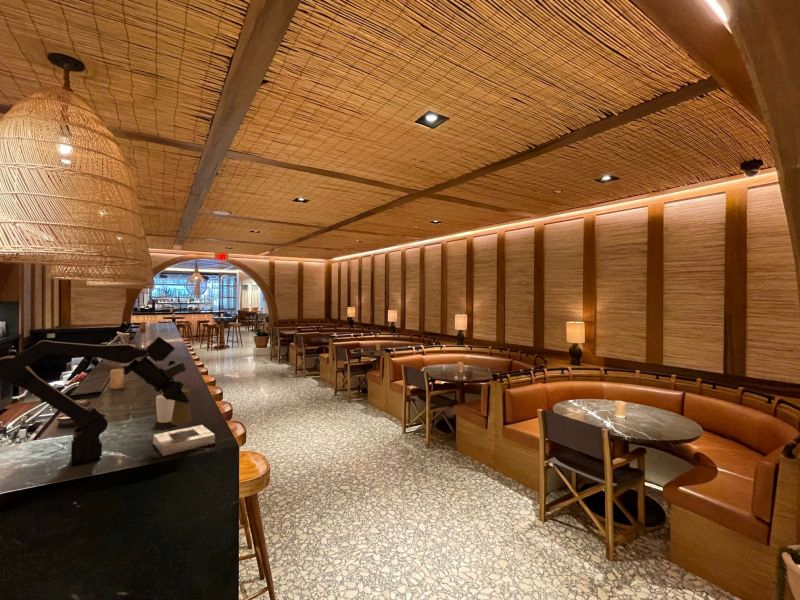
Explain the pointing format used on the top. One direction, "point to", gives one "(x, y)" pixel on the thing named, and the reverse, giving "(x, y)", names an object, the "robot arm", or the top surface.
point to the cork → (181, 411)
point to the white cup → (164, 409)
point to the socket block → (183, 439)
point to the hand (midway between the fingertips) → (186, 400)
